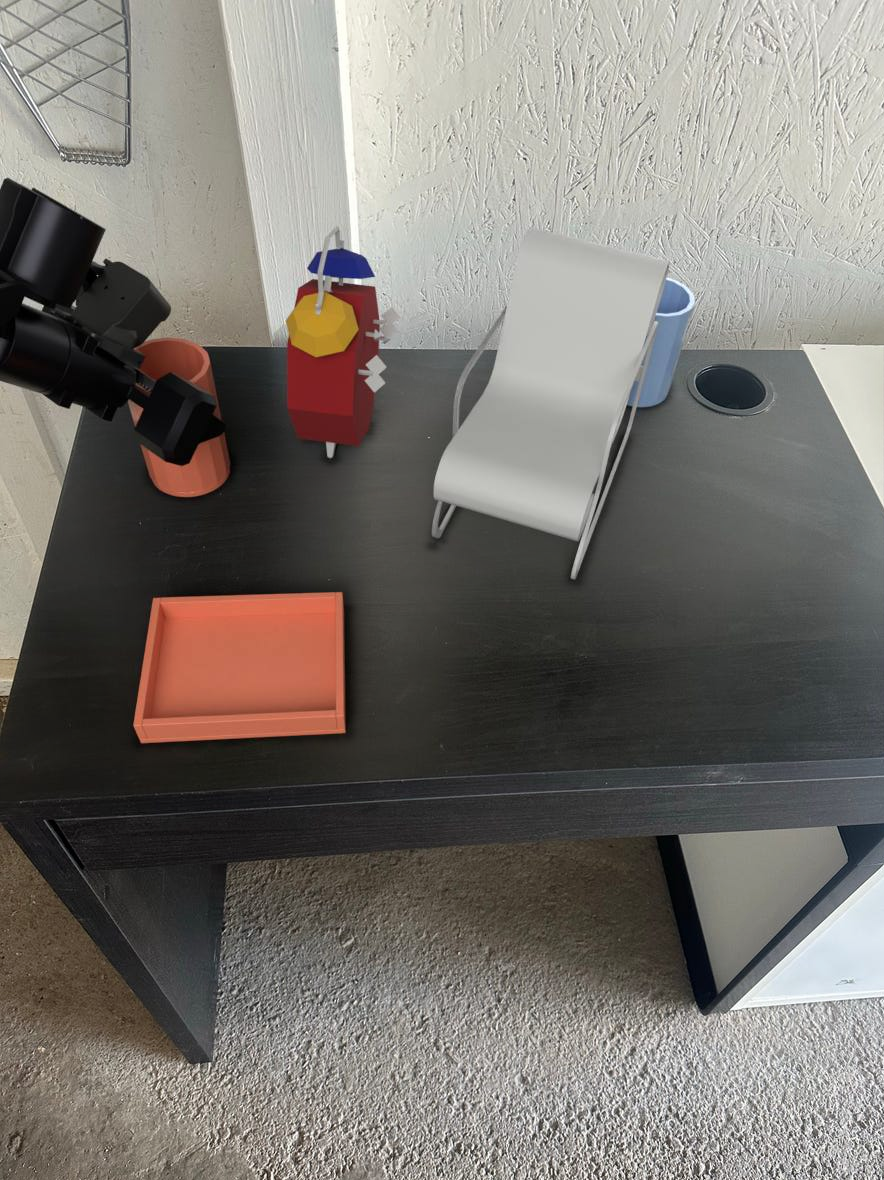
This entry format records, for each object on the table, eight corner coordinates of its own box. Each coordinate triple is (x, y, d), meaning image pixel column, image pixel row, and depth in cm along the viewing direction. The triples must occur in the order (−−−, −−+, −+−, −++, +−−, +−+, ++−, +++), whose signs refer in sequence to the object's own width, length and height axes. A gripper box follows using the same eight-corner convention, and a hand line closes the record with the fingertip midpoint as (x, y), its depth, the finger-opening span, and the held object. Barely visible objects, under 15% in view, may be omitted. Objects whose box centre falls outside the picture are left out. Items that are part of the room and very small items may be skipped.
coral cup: (176, 508, 81) (146, 401, 72) (135, 465, 84) (102, 357, 75) (245, 475, 85) (226, 368, 75) (204, 434, 88) (180, 327, 78)
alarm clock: (324, 377, 94) (309, 188, 79) (404, 387, 94) (405, 200, 79) (292, 470, 85) (269, 278, 70) (381, 481, 85) (377, 291, 70)
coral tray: (140, 743, 66) (132, 725, 64) (159, 616, 74) (153, 597, 72) (345, 733, 68) (343, 715, 66) (344, 610, 75) (342, 591, 73)
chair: (631, 429, 93) (678, 250, 77) (569, 597, 78) (611, 417, 63) (510, 396, 95) (532, 215, 79) (427, 553, 80) (434, 369, 65)
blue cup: (637, 416, 94) (661, 324, 86) (587, 381, 97) (606, 289, 89) (681, 390, 98) (709, 299, 89) (632, 357, 101) (654, 267, 92)
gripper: (171, 303, 61) (302, 369, 75) (8, 204, 67) (157, 282, 81) (105, 448, 63) (245, 485, 77) (-47, 339, 69) (108, 392, 84)
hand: (188, 406), depth 80 cm, fingers open, 9 cm apart
